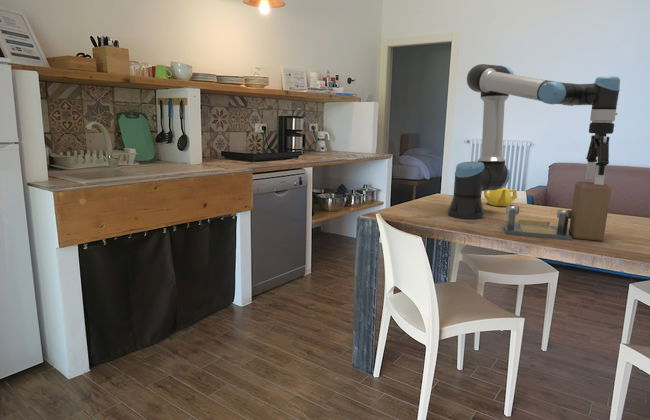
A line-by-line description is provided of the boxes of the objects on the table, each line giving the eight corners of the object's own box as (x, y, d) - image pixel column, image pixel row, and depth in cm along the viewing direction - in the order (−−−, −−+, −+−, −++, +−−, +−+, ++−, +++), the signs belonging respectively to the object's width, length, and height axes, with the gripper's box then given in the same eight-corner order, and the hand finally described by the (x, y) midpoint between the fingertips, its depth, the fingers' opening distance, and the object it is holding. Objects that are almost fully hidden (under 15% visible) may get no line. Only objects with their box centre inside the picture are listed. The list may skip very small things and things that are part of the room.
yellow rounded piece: (478, 204, 230) (480, 184, 228) (494, 201, 238) (496, 182, 236) (503, 208, 219) (505, 188, 217) (519, 206, 227) (521, 186, 225)
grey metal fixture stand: (505, 234, 171) (508, 209, 169) (503, 225, 185) (505, 202, 183) (572, 240, 164) (575, 214, 162) (564, 230, 178) (567, 206, 176)
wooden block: (597, 235, 173) (605, 182, 169) (603, 241, 163) (612, 186, 159) (568, 232, 176) (575, 181, 172) (572, 238, 167) (580, 184, 162)
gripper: (625, 122, 148) (615, 187, 152) (604, 122, 172) (596, 178, 176) (599, 121, 150) (590, 185, 155) (582, 121, 174) (575, 177, 178)
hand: (593, 182), depth 165 cm, fingers open, 13 cm apart
